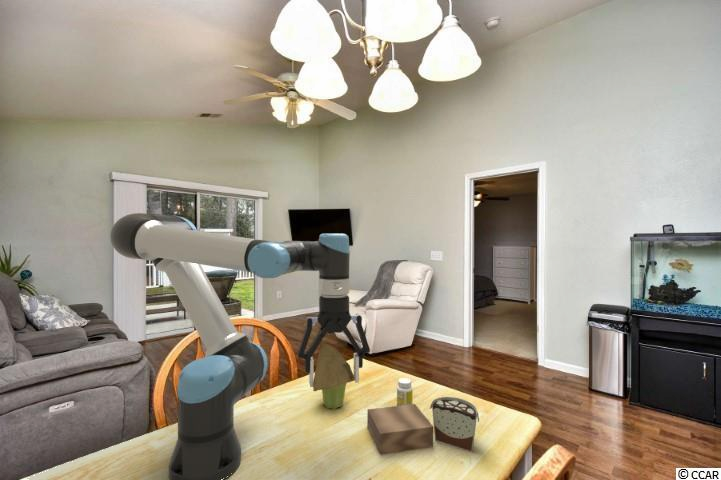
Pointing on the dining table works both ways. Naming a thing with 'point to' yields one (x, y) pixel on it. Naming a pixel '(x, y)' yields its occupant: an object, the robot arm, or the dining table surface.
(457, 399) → the food container
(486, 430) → the dining table surface
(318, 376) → the rock
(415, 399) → the dining table surface
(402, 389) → the supplement bottle
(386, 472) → the dining table surface
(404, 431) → the walnut block
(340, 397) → the plant pot
